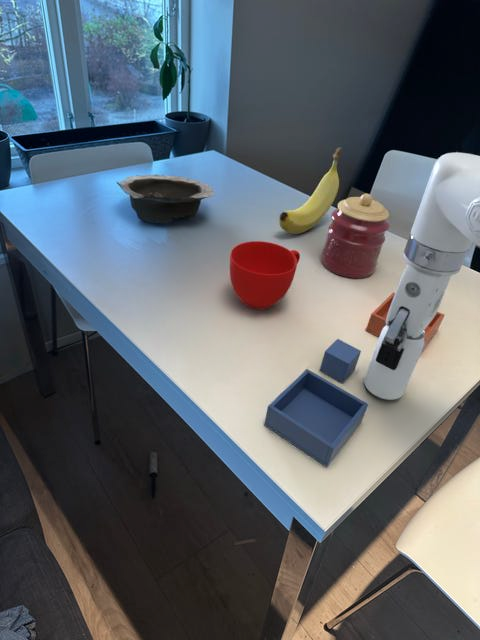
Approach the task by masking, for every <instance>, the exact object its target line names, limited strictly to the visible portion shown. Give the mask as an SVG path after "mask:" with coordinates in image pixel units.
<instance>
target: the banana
mask: <svg viewBox="0 0 480 640" xmlns="http://www.w3.org/2000/svg"><path fill="white" fill-rule="evenodd" d="M342 150H343V149H342V147H341V146H340V147H337V148H336V149H335V151H334V153H333V154H332V158H333V162H332V165H331V167H330V169H329V170H328V172H326V173H325V174H324V176H322V179H321V180H320V182H319V183H318V184H317V186H316V188H315V190H314V191H313V193H312V194H311V196H310V197H309V198H308V200H307V201H306V202H305V203H304V204H303V205H301V206H300V207H298V208H296V209H292V210H291V209H289V210H284V211H282V212H281V213H280V214H279V217H278V224H279V228H281V230H283V231H284V232H286V233H289V234H294V235H295V234H296V235H298V234H302V233H306V232H307V231H309V230H310V229H312V228H314V227H315V226H316V225H317V224H318V223H319V222H321V220H322V219H323V218H324V216H326V214H327V213H328V211H329V209H331V207H332V205H333V203H334V201H335V200H336V197H337V195H338V191H339V187H340V177H339V174H338V170H337V166H338V161H339V159H340V158H341V155H342Z"/></svg>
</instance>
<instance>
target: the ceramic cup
mask: <svg viewBox="0 0 480 640" xmlns="http://www.w3.org/2000/svg"><path fill="white" fill-rule="evenodd" d="M300 254H301V253H300V252H299V251H298V250H296V249H292V250H290V249H288V248H287V247H285V246H282V245H280V244H277V243H273V242H270V241H263V240H261V241H259V240H253V241H245V242H241V243H239V244H237V245H236V246H234V247H232V249H231V251H230V253H229V277H230V283H231V287H232V289H233V291H234V293H235V294H236V296H237V297H238V298H239V300H240V301H241V302H242V304H244V305H245V306H246V307H248V308H251V309H255V310H265V309H269V308H271V307H272V306H274V305H275V304H277V303H278V302H279V301H281V300H282V299H283V298H284V297H285V296H286V294H287V293H288V291H289V289H290V288H291V285H292V283H293V281H294V277H295V274H296V271H297V267H298V264H299V261H300V260H301V259H300V258H301V255H300Z"/></svg>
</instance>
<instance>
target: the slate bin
mask: <svg viewBox="0 0 480 640" xmlns="http://www.w3.org/2000/svg"><path fill="white" fill-rule="evenodd" d="M369 406H370V405H369V403H367V402H366V401H364V400H363V399H360V398H358V397H357V396H355V395H353V394H352V393H350V392H348V391H346V390H345V389H343V388H341V387H339V386H337V385H336V384H335V383H332V382H331V381H329V380H328V379H325V378H324V377H322V376H320V375H319V374H317V373H315V372H314V371H311V370H310V369H309V368H306V369H305V370H304V371H303V372H302V373H301V374H299V376H298V377H296V379H294V380H293V381H292V382H291V384H289V385H288V386H287V387H286V388H285V389H284V390H283V391H281V393H280V394H279V395H278V396H277V397H276V398H275V399H274V400H273V401H271V402H270V404H268V405H267V409H266V413H265V419H264V424H263V426H265V427H266V428H268V429H269V430H271V431H273V432H274V433H275V434H277V435H278V436H279V437H281V438H283V439H284V440H286V441H287V442H289V443H290V444H292V445H293V446H294V447H296V448H297V449H299V450H301V451H302V452H303V453H305V454H307V455H308V456H309V457H311V458H312V459H313V460H315V461H317V462H318V463H320V464H322V466H325V468H329V466H330V465H331V464H332V462H333V460H334V459H335V458H336V457H337V455H338V454H339V453H340V451H341V450H342V449H343V447H344V446H345V445H346V443H347V442H348V441H349V440H350V438H351V437H352V436H353V434H354V433H355V432H356V431H357V429H358V428H359V426H360V425H361V424H362V422H363V419H364V417H365V414H366V412H367V410H368V407H369Z"/></svg>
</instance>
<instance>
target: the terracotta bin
mask: <svg viewBox="0 0 480 640" xmlns="http://www.w3.org/2000/svg"><path fill="white" fill-rule="evenodd" d="M394 295H395V292H394V291H393V292H392V293H391V294H390V295H389V296H388V297H386V299H384V301H383V302H382V303H381V304H379V306H378V307H377V308H375V309H374V310H373V312H371V314H370V316H369V319H368V321H367V322H368V323H367V325H366V328H365V331H366V332H367V333H369V334H371V335H374V336H376V337H378V338H379V337H380V334H381V331H382V329H383V328H384V327H385V326H386V318H387V314H388V311H389V308H390V306H391V303H392V300H393V297H394ZM445 316H446V315H445V314H444V313H442V312H439V311H437V313H436V315H435V317H434V318H433V319H432V321H431V322H430V323H429V325H428V326H427V327H426V328H425V330H424V331H425V337H424V347H423V349H422V351H421V353H422V352H423V351H424V350H425V348H426V347H427V346H428V344H429V343H430V342H431V340H432V339H433V337H434V336H435V335H436V333H437V332H438V330H439V328H440V326H441V324H442V322H443V320H444V317H445Z"/></svg>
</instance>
